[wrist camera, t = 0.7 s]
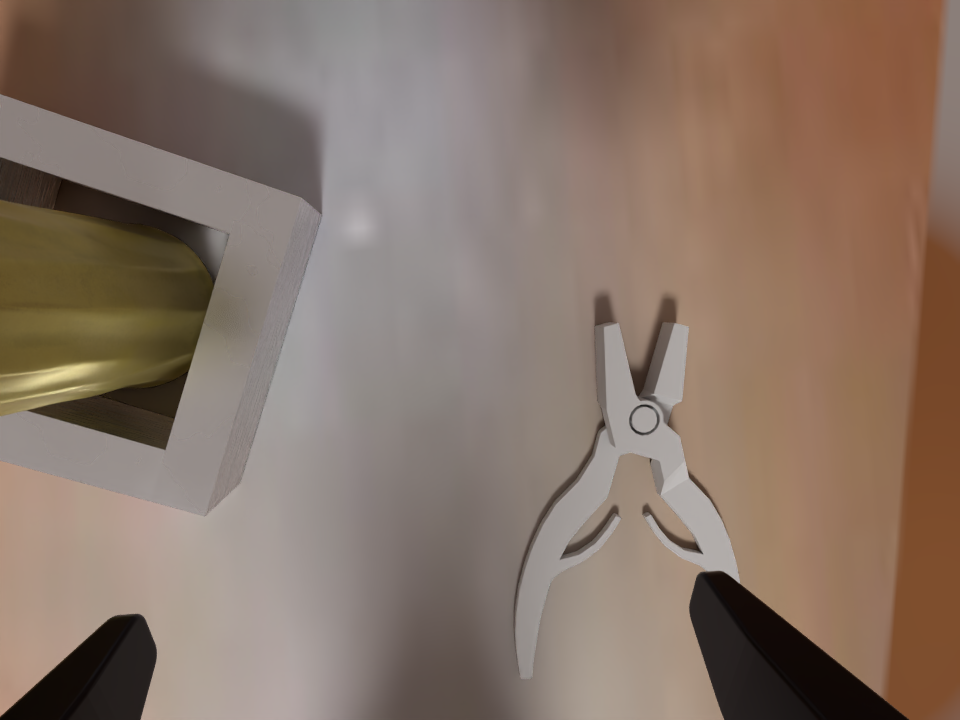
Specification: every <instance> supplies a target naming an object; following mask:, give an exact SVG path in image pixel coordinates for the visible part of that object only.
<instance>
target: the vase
mask: <svg viewBox="0 0 960 720" xmlns="http://www.w3.org/2000/svg"><path fill="white" fill-rule="evenodd" d="M213 289H214V285H213V282H212V279H211V276H210V274H209V272H208V271H207V269H206V267H205V266H204V264H203V263H202V261H201V260H200V258H199V257H198V256H197V255H196V254H195V253H194V252H193V250H192V249H190V248H189V247H188V246H187V245H186V244H185V243H184V242H182V241H181V240H179V239H178V238H176V237H174V236H172V235H170V234H168V233H166V232H164V231H162V230H159V229H156V228H154V227H150V226H146V225H141V224H125V223H120V222H116V221H112V220H107V219H102V218H97V217H91V216H86V215H81V214H75V213H69V212H64V211H58V210H52V209H46V208H40V207H34V206H29V205H24V204H18V203H13V202H8V201H4V200H0V416H4V415H9V414H13V413H17V412H22V411H26V410H30V409H34V408H38V407H42V406H46V405H50V404H55V403H60V402H65V401H70V400H76V399H81V398H87V397H91V396H96V395H99V394H103V393H106V392H109V391H113V390H116V389H120V388H148V387H153V386H157V385H161V384H164V383H167V382H170V381H172V380H175V379H176V378H178V377H180V376H181V375H183V374H184V373H186V372H187V371H188V370H189V369H190V366H191V363H192V359H193V356H194V353H195V349H196V346H197V342H198V339H199V336H200V332H201V329H202V326H203V322H204V319H205V316H206V312H207V309H208V305H209V302H210V299H211V295H212V292H213Z"/></svg>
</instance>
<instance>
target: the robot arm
mask: <svg viewBox="0 0 960 720" xmlns="http://www.w3.org/2000/svg"><path fill="white" fill-rule="evenodd" d="M689 612H690V618H691V621H692V624H693V627H694V630H695V634H696V637H697V640H698V643H699V646H700V649H701V652H702V655H703V658H704V661H705V665H706V668H707V671H708V674H709V677H710V680H711V683H712V686H713V689H714V692H715V696H716V698H717V701H718V704H719V707H720V710H721V713H722V715H723V718H724V720H909V719H907V717H905V716H904V715H903V714H902V713H900V712H899V711H898V710H897V709H895V708H894V707H893V706H892V705H890V704H889V703H888V702H887V701H885V700H884V699H883V698H882V697H880V696H879V695H878V694H877V693H875V692H874V691H873V690H872V689H870V688H869V687H868V686H867V685H865V684H864V683H863V682H862V681H860V680H859V679H858V678H857V677H855V676H854V675H853V674H852V673H850V672H849V671H848V670H847V669H846V668H844V667H843V666H842V665H841V664H839V663H838V662H837V661H836V660H834V659H833V658H832V657H831V656H829V655H828V654H827V653H826V652H824V651H823V650H822V649H821V648H819V647H818V646H817V645H816V644H814V643H813V642H812V641H811V640H809V639H808V638H807V637H806V636H804V635H803V634H802V633H801V632H799V631H798V630H797V629H796V628H794V627H793V626H792V625H791V624H789V623H788V622H787V621H786V620H784V619H783V618H782V617H781V616H779V615H778V614H777V613H776V612H775V611H773V610H772V609H771V608H770V607H768V606H767V605H766V604H765V603H763V602H762V601H761V600H760V599H758V598H757V597H756V596H755V595H753V594H752V593H751V592H750V591H748V590H747V589H746V588H745V587H743V586H742V585H741V584H740V583H738V582H737V581H736V580H735V579H733V578H732V577H731V576H730V575H728V574H727V573H725V572H723V571H706V572H700V573H699V574H698V575H697V578H696V581H695V585H694V589H693V593H692V596H691V600H690V605H689ZM156 658H157V649H156V645H155V642H154V640H153V637H152V635H151V632H150V630H149V627H148V625H147V622H146V620H145V618H144V617H143V616H142V615H141V614H127V615H117V616H114V617H112V618H110V619H108V620H107V621H106V622H105V623H104V624H103V625H101V626H100V627H99V628H98V629H97V630H96V631H95V632H94V633H93V634H91V635H90V636H89V637H88V638H87V639H86V640H85V641H84V642H83V643H82V644H80V645H79V646H78V647H77V648H76V649H75V650H74V651H73V652H72V653H70V654H69V655H68V656H67V657H66V658H65V659H64V660H63V661H62V662H60V663H59V664H58V665H57V666H56V667H55V668H54V669H53V670H52V671H50V672H49V673H48V674H47V675H46V676H45V677H44V678H43V679H42V680H41V681H39V682H38V683H37V684H36V685H35V686H34V687H33V688H32V689H31V690H29V691H28V692H27V693H26V694H25V695H24V696H23V697H22V698H21V699H19V700H18V701H17V702H16V703H15V704H14V705H13V706H12V707H11V708H9V709H8V710H7V711H6V712H5V713H4V714H3V715H2V716H1V717H0V720H140V719H141V716H142V712H143V708H144V705H145V701H146V697H147V693H148V690H149V686H150V682H151V679H152V675H153V671H154V668H155V664H156Z"/></svg>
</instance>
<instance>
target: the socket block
mask: <svg viewBox="0 0 960 720" xmlns="http://www.w3.org/2000/svg"><path fill="white" fill-rule="evenodd" d="M62 179H64V180H67V181H70V182H73V183H76V184H79V185H82V186H85V187H88V188H91V189H94V190H97V191H100V192H103V193H106V194H109V195H112V196H115V197H118V198H121V199H124V200H128V201H131V202H134V203H137V204H140V205H143V206H146V207H149V208H152V209H155V210H158V211H161V212H164V213H167V214H170V215H173V216H176V217H179V218H182V219H185V220H188V221H191V222H194V223H197V224H200V225H203V226H206V227H209V228H212V229H215V230H218V231H221V232H224V233H227V234H230V235H229V238H228V241H227V245H226V248H225V252H224V255H223V258H222V262H221V265H220V268H219V272H218V275H217V278H216V282H215V285H214V289H213V292H212V295H211V299H210V302H209V305H208V309H207V312H206V316H205V319H204V322H203V326H202V329H201V332H200V336H199V339H198V342H197V346H196V349H195V353H194V356H193V359H192V363H191V366H190V369H189V373H188V376H187V380H186V383H185V386H184V390H183V393H182V396H181V400H180V403H179V406H178V410H177V413H176V417H175V418H172V417H169V416H165V415H162V414H158V413H155V412H151V411H148V410H144V409H141V408H137V407H134V406H131V405H127V404H124V403H120V402H117V401H113V400H110V399H106V398H103V397H100V396H91V397H87V398H81V399H76V400H70V401H65V402H60V403H55V404H50V405H46V406H42V407H38V408H34V409H30V410H26V411H22V412H17V413H13V414H9V415H4V416H0V461H3V462H7V463H11V464H14V465H18V466H22V467H25V468H29V469H33V470H36V471H40V472H44V473H47V474H51V475H55V476H59V477H62V478H66V479H70V480H73V481H77V482H81V483H84V484H88V485H92V486H95V487H99V488H103V489H106V490H110V491H114V492H117V493H121V494H125V495H128V496H132V497H136V498H139V499H143V500H147V501H150V502H154V503H158V504H161V505H165V506H169V507H172V508H176V509H180V510H183V511H187V512H191V513H194V514H198V515H202V516H206V515H207V514H208V513H209V512H210V511H211V510H212V509H213V508H214V507H216V506H217V505H218V504H219V503H220V502H221V501H222V500H223V499H224V498H225V497H226V496H227V495H228V494H229V493H231V492H232V491H233V490H234V489H235V488H236V487H237V486H238V485H239V484H240V481H241V478H242V475H243V472H244V468H245V465H246V462H247V459H248V455H249V452H250V449H251V446H252V442H253V439H254V436H255V433H256V429H257V426H258V423H259V419H260V416H261V413H262V410H263V406H264V403H265V400H266V397H267V393H268V390H269V387H270V384H271V380H272V377H273V374H274V371H275V367H276V364H277V361H278V357H279V354H280V351H281V348H282V344H283V341H284V338H285V335H286V331H287V328H288V325H289V322H290V318H291V315H292V312H293V309H294V305H295V302H296V299H297V295H298V292H299V289H300V286H301V282H302V279H303V276H304V273H305V269H306V266H307V263H308V260H309V256H310V253H311V250H312V247H313V243H314V240H315V237H316V233H317V230H318V227H319V224H320V220H321V217H322V215H321V214H320V213H319V212H318V211H317V210H316V209H314V208H313V207H312V206H311V205H310V204H309V203H307V202H306V201H305V200H304V199H303V198H301V197H299V196H296V195H293V194H290V193H287V192H284V191H281V190H278V189H275V188H272V187H269V186H267V185H264V184H261V183H258V182H255V181H252V180H249V179H246V178H243V177H240V176H237V175H234V174H232V173H229V172H226V171H223V170H220V169H217V168H214V167H211V166H208V165H205V164H202V163H199V162H197V161H194V160H191V159H188V158H185V157H182V156H179V155H176V154H173V153H170V152H167V151H164V150H162V149H159V148H156V147H153V146H150V145H147V144H144V143H141V142H138V141H135V140H132V139H129V138H127V137H124V136H121V135H118V134H115V133H112V132H109V131H106V130H103V129H100V128H97V127H95V126H92V125H89V124H86V123H83V122H80V121H77V120H74V119H71V118H68V117H65V116H62V115H60V114H57V113H54V112H51V111H48V110H45V109H42V108H39V107H36V106H33V105H30V104H27V103H25V102H22V101H19V100H16V99H13V98H10V97H7V96H4V95H1V94H0V200H4V201H8V202H13V203H18V204H24V205H29V206H34V207H40V208H46V209H52V210H53V209H54V206H55V202H56V199H57V195H58V191H59V188H60V184H61V181H62Z"/></svg>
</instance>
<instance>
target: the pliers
mask: <svg viewBox="0 0 960 720" xmlns="http://www.w3.org/2000/svg"><path fill="white" fill-rule="evenodd" d="M688 331H689V327H687V326H684V325H680V324H677V323H668V322H663V323H662V327H661V330H660V333H659V337H658V340H657V344H656V347H655V351H654V354H653V357H652V361H651V364H650V368H649V371H648V375H647V378H646V382H645V385H644V388H643V390H642V392H641V393H640V395H639V396H636V394H635V390H634V386H633V381H632V377H631V373H630V369H629V364H628V360H627V356H626V352H625V347H624V343H623V339H622V335H621V330H620V326H619V323H612V322H608V323H604V324H600V325H597V326H595V349H596V378H597V401H598V403H599V404H600V406H601V408H602V412H603V417H604V421H605V426H604V427H602V428H601V429H600V430H599V431H598V434H597V438H596V441H595V445H594V449H593V453H592V455H591V457H590V458H589V460H588V461H587V463H586V465H585V466H584V468H583V469H582V471H581V473H580V474H579V476H578V477H577V479H576V480H575V481H574V482H573V483H572V484H571V485H570V486H569V487H568V488H567V489H566V490H565V491H564V492H563V493H562V494H561V495H560V496H559V497H558V498H557V499H556V500H555V501H554V503H553V504H552V506H551V507H550V509H549V510H548V512H547V514H546V515H545V517H544V518H543V520H542V521H541V523H540V525H539V527H538V530H537V532H536V534H535V536H534V538H533V540H532V543H531V545H530V548H529V551H528V554H527V557H526V560H525V563H524V565H523V569H522V573H521V577H520V581H519V585H518V590H517V598H516V605H515V621H514V636H515V647H516V655H517V661H518V668H519V674H520V678H521V679H532V674H533V664H534V655H535V649H536V643H537V637H538V631H539V625H540V619H541V615H542V611H543V608H544V604H545V600H546V597H547V594H548V591H549V587H550V584H551V581H552V579H554V578H555V577H556V576H557V575H559V574H560V573H561V572H562V571H564V570H566V569H569V568H571V567H573V566H575V565H577V564H579V563H581V562H583V561H584V560H586V559H587V558H588V557H590V556H591V555H592V554H594V553H595V552H596V551H598V550H599V549H600V548H601V546H602V545H603V544H604V543H605V542H606V540H607V539H608V538H609V537H610V535H611V534H612V533H613V531H614V529H615V528H616V526H617V525H618V523H619V521H620V520H621V517H620V516H619V515H617V514H615V513H613V514H612V516H611V517H610V519H609V520H608V522H607V523H606V525H605V526H604V528H603V529H602V530H601V531H600V532H599V533H598V535H597V536H596V537H595V538H594V539H593V540H592V541H591V542H590V543H588V544H587V545H585V546H584V547H582V548H581V549H579V550H578V551H575V552H572V553H568V554H564V555H562V554H563V552H564V550H565V548H566V546H567V544H568V542H569V541H570V540H571V538H572V537H573V536H574V535H575V533H576V532H577V531H578V530H579V529H580V527H581V526H582V525H583V524H584V523H585V521H586V520H587V519H588V518H589V517H590V516H591V515H592V514H593V513H594V512H595V510H596V509H597V508H598V507H599V506H600V505H601V504H602V503H603V502H604V501H605V499H606V498H607V497H608V494H609V490H610V487H611V484H612V480H613V477H614V473H615V470H616V466H617V463H618V459H619V456H621V455H624V454H627V453H630V452H631V453H634V454H638V455H641V456H645V457H648V458H651V459H652V460H651V464H650V465H651V469H652V473H653V478H654V482H655V486H656V490H657V493H658V494H659V496H660V497H661V498H662V499H663V500H664V501H665V502H666V503H667V505H668V506H669V507H670V508H671V509H672V510H673V511H674V512H675V514H676V515H677V516H678V517H679V518H680V519H681V521H682V522H683V523H684V524H685V526H686V527H687V528H688V530H689V531H690V532H691V533H692V535H693V537H694V540H695V542H696V544H697V546H698V548H699V550H700V551H698V550H693V549H687V548H682V547H680V546H679V545H677V544H675V543H674V542H672V541H671V540H669V539H668V538H667V537H666V536H665V534H664V533H663V532H662V531H661V530H660V529H659V527H658V525H657V524H656V522H655V521H654V519H653V517H652V516H651V514H650V513H648V512H646V513H644V514H642V515H643V516H644V518H645V520H646V521H647V523H648V525H649V526H650V528H651V530H652V531H653V532H654V533H655V535H656V536H657V537H658V538H659V540H660V541H661V542H662V543H663V544H664V545H665V546H666V547H667V548H668V549H670V550H671V551H672V552H674V553H675V554H676V555H678V556H679V557H681V558H682V559H685V560H687V561H690V562H692V563H695V564H697V565H699V566H701V567H702V568H704V569H705V570H706V571H723V572H725V573H727V574H728V575H730V576H731V577H732V578H733V579H735V580H736V581H737V582H738V583H740V580H739V575H738V569H737V564H736V560H735V556H734V553H733V549H732V546H731V542H730V539H729V537H728V534H727V532H726V529H725V527H724V524H723V522H722V520H721V518H720V516H719V514H718V513H717V511H716V509H715V508H714V506H713V504H712V503H711V501H710V499H709V498H708V497H707V496H706V495H705V494H704V493H703V492H702V491H701V490H700V489H699V488H698V487H697V486H696V485H695V484H694V483H693V482H692V481H691V480H690V479H689V476H688V471H687V467H686V463H685V458H684V453H683V449H682V444H681V439H680V436H679V435H678V434H677V433H675V432H674V431H673V430H672V429H671V428H670V427H668V426H667V424H668V421H669V417H670V414H671V410H672V407H673V405H675V404H677V403H679V402H681V401H682V396H683V385H684V374H685V363H686V352H687V341H688Z"/></svg>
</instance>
